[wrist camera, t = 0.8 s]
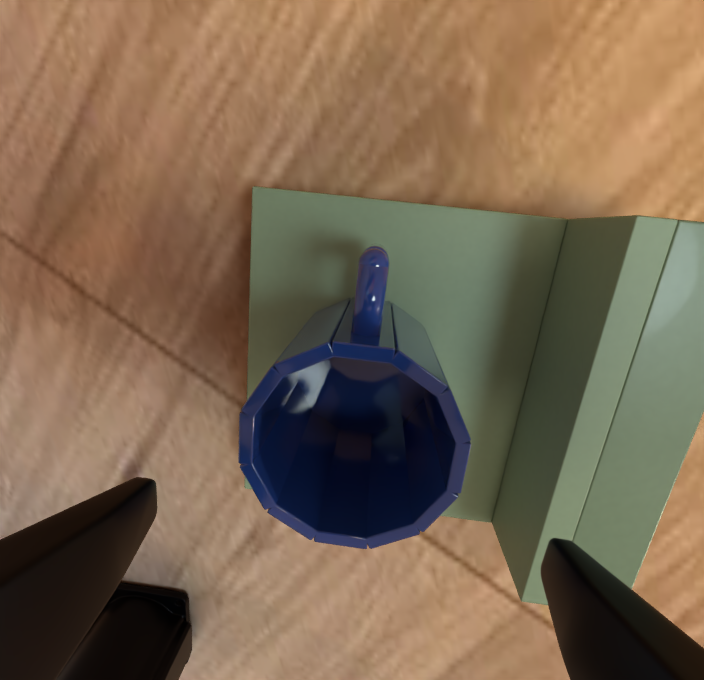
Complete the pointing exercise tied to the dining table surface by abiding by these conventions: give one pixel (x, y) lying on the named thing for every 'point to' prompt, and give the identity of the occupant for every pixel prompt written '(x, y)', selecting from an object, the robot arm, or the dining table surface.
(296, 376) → the mug
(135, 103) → the dining table surface
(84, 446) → the dining table surface
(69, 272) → the dining table surface
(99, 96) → the dining table surface
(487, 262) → the shelf
